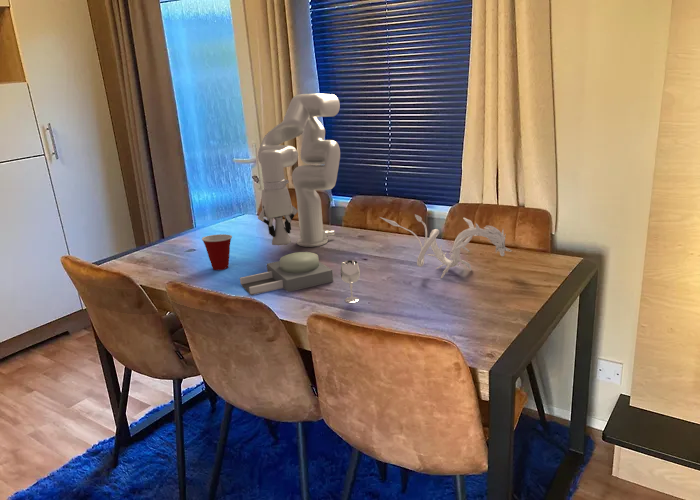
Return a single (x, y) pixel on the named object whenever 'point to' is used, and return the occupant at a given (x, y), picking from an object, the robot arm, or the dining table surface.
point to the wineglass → (350, 276)
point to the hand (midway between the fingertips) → (280, 233)
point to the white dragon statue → (456, 243)
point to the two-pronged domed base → (289, 274)
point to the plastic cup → (218, 250)
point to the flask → (280, 233)
